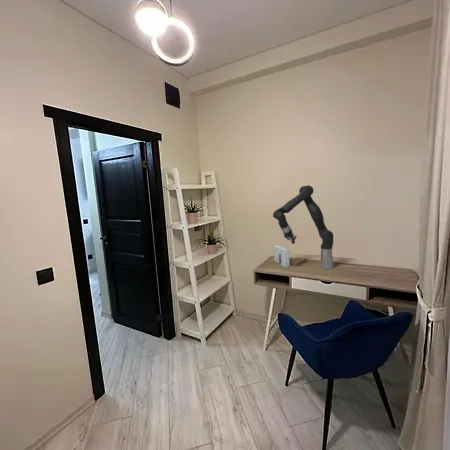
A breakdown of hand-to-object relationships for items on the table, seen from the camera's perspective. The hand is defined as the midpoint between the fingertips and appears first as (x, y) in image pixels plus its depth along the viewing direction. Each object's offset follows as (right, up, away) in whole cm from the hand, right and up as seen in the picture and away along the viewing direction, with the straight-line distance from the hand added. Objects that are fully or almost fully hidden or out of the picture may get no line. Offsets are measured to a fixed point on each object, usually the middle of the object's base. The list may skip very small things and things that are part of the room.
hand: (293, 243), depth 229 cm
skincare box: (-8, -21, +13) cm, 26 cm away
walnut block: (+1, -20, +5) cm, 20 cm away
